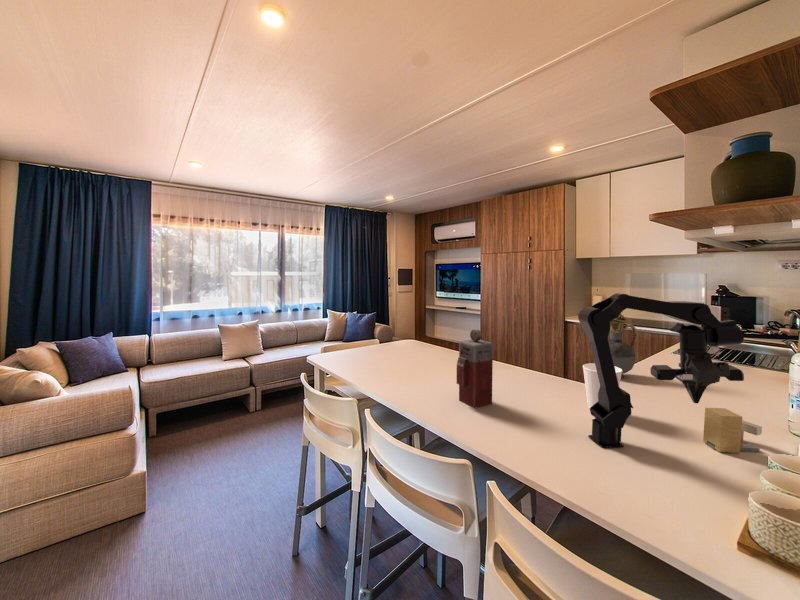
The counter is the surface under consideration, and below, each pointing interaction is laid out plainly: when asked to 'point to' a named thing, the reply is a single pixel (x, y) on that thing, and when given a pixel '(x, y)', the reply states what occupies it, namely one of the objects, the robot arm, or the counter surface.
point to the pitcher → (621, 345)
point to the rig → (747, 428)
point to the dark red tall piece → (475, 371)
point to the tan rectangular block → (723, 429)
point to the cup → (594, 382)
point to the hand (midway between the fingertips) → (695, 402)
